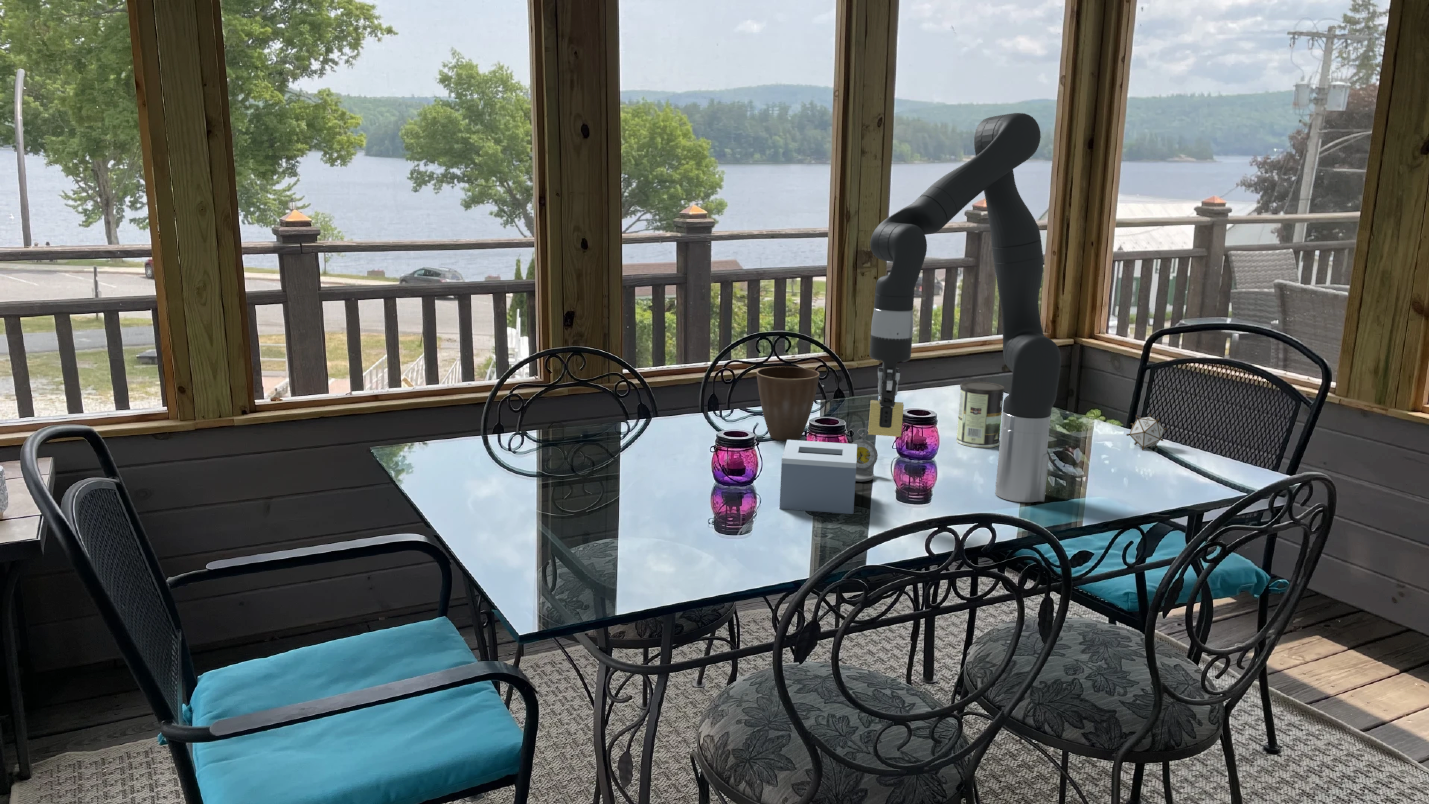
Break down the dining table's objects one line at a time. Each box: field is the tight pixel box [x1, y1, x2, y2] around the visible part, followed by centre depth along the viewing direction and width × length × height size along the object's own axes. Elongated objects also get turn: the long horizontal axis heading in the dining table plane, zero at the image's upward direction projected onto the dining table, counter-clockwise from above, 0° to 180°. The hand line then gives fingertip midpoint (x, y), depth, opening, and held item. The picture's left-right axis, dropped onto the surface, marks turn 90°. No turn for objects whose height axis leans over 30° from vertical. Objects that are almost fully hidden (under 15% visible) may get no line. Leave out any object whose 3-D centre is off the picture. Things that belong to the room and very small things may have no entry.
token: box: [867, 399, 905, 438], centre depth 197 cm, size 6×2×6 cm, turn 82°
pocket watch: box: [850, 427, 878, 483], centre depth 223 cm, size 8×8×10 cm
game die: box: [1125, 413, 1168, 451], centre depth 254 cm, size 9×8×10 cm
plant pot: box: [756, 366, 820, 442], centre depth 252 cm, size 15×15×16 cm
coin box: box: [779, 439, 858, 515], centre depth 206 cm, size 14×14×10 cm
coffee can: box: [955, 380, 1005, 449], centre depth 253 cm, size 10×10×14 cm
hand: (884, 425), depth 197 cm, fingers closed on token, 2 cm apart
